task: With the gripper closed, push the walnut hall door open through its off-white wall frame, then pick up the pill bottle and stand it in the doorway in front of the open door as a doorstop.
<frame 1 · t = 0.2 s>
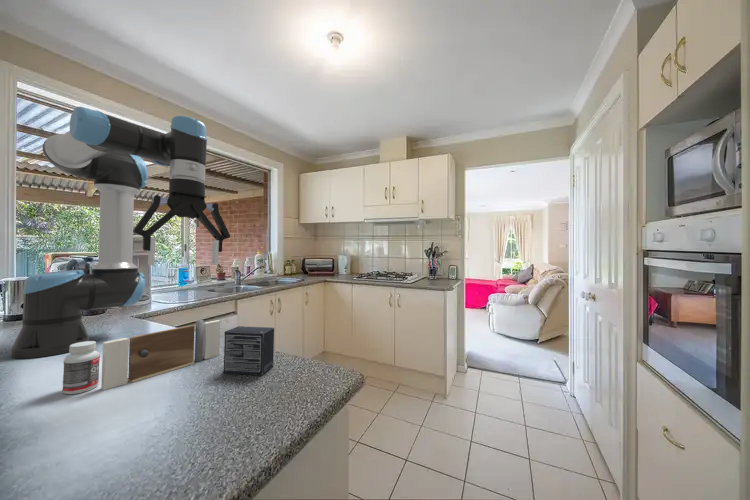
hand: (185, 264, 70), 27 cm above the counter, fingers open, 13 cm apart
door: (165, 350, 70), point 5 cm above the counter, hinge at 0.0°
small box: (249, 370, 72), on the counter
pill bottle: (81, 389, 60), on the counter
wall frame: (198, 360, 77), on the counter
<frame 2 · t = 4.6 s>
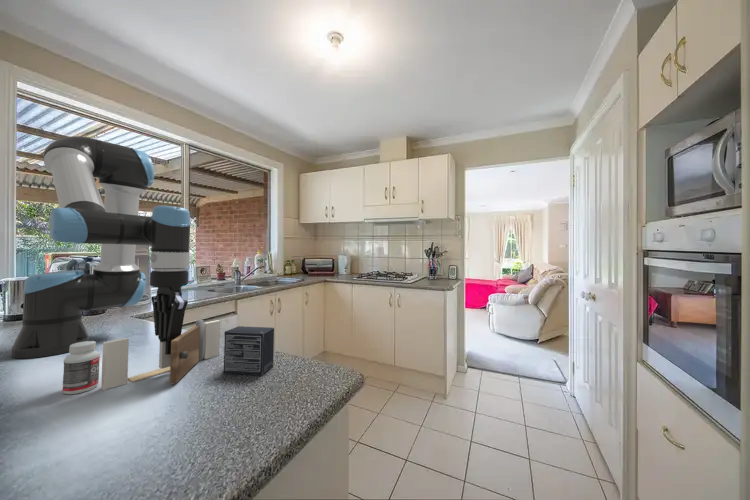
hand: (166, 366, 68), 2 cm above the counter, fingers closed
door: (189, 351, 69), point 5 cm above the counter, hinge at 44.4°
everything else where it was.
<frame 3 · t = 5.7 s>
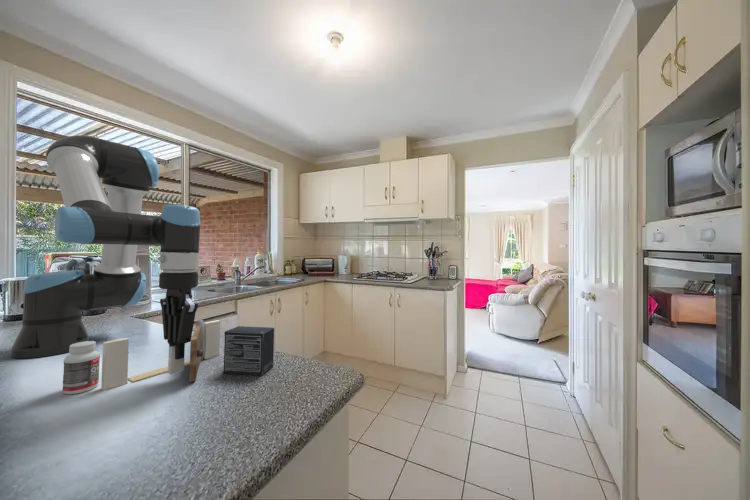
hand: (176, 371, 65), 2 cm above the counter, fingers closed
door: (198, 350, 70), point 5 cm above the counter, hinge at 58.6°, touching hand
everything else where it was.
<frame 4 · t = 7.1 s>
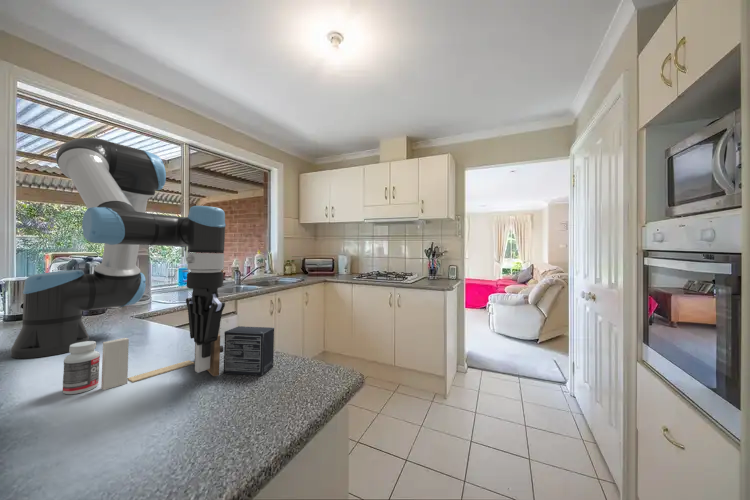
hand: (202, 369, 66), 2 cm above the counter, fingers closed
door: (210, 348, 72), point 5 cm above the counter, hinge at 77.0°, touching hand
everything else where it was.
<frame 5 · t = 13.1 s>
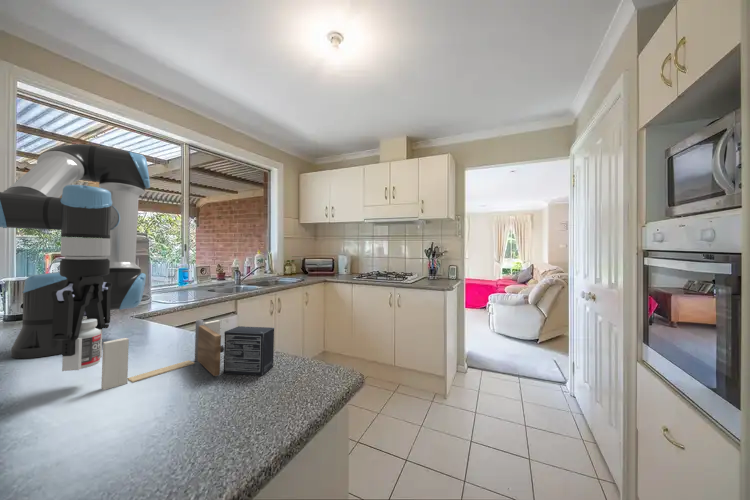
hand: (83, 363, 61), 5 cm above the counter, fingers closed on pill bottle, 5 cm apart
door: (211, 348, 72), point 5 cm above the counter, hinge at 77.5°
pill bottle: (82, 366, 61), point 5 cm above the counter, touching gripper
everything else where it was.
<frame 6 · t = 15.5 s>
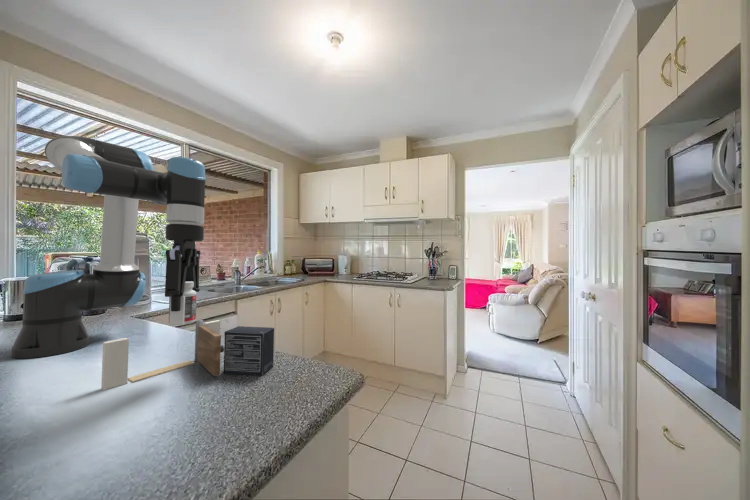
hand: (182, 321, 66), 13 cm above the counter, fingers closed on pill bottle, 5 cm apart
pill bottle: (182, 323, 66), point 13 cm above the counter, touching gripper
everything else where it was.
when the fingers open (1 cm above the counter, at t = 17.9 s): pill bottle stays where it is, on the counter.
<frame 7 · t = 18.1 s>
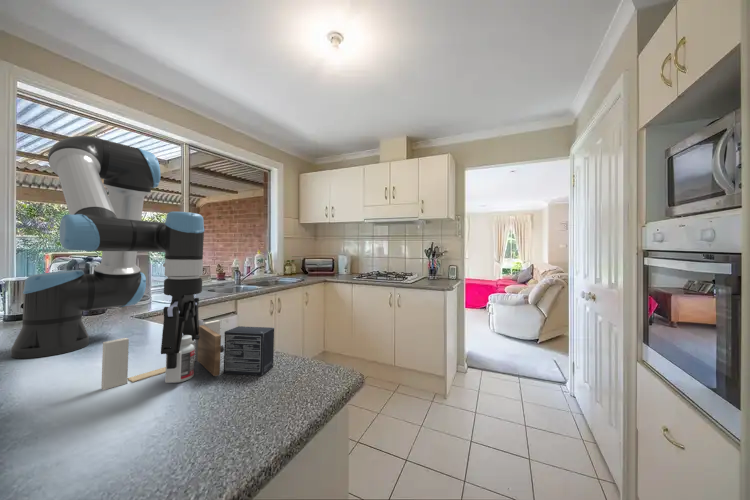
hand: (180, 373, 66), 1 cm above the counter, fingers open, 7 cm apart
pill bottle: (180, 379, 66), on the counter
everything else where it was.
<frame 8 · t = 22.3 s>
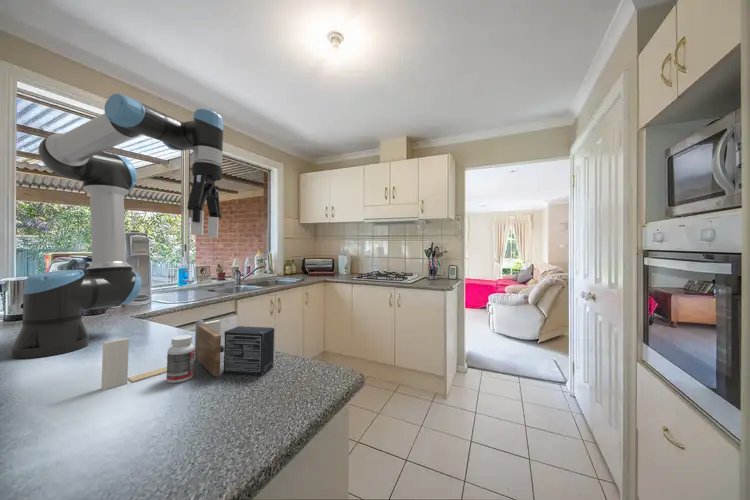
hand: (205, 236, 82), 35 cm above the counter, fingers open, 13 cm apart
nothing on the counter moved.
at the end: door at +78° (first picture: +0°); pill bottle inside the target area (0.4 cm from its centre), on the counter; pill bottle tilted 0° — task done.
